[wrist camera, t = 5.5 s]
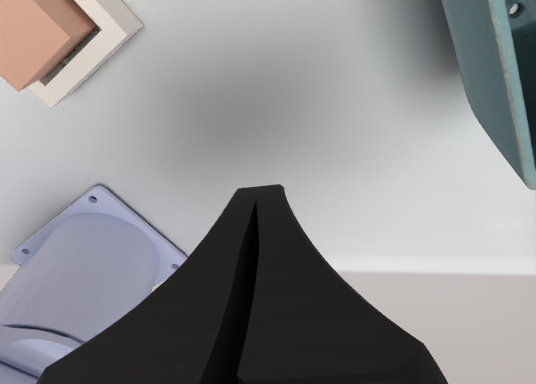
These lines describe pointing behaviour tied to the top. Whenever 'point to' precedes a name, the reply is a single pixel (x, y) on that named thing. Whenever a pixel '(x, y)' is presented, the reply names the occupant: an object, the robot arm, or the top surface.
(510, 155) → the flower pot
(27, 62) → the orange-brown cube
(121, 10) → the button strip
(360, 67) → the top surface
